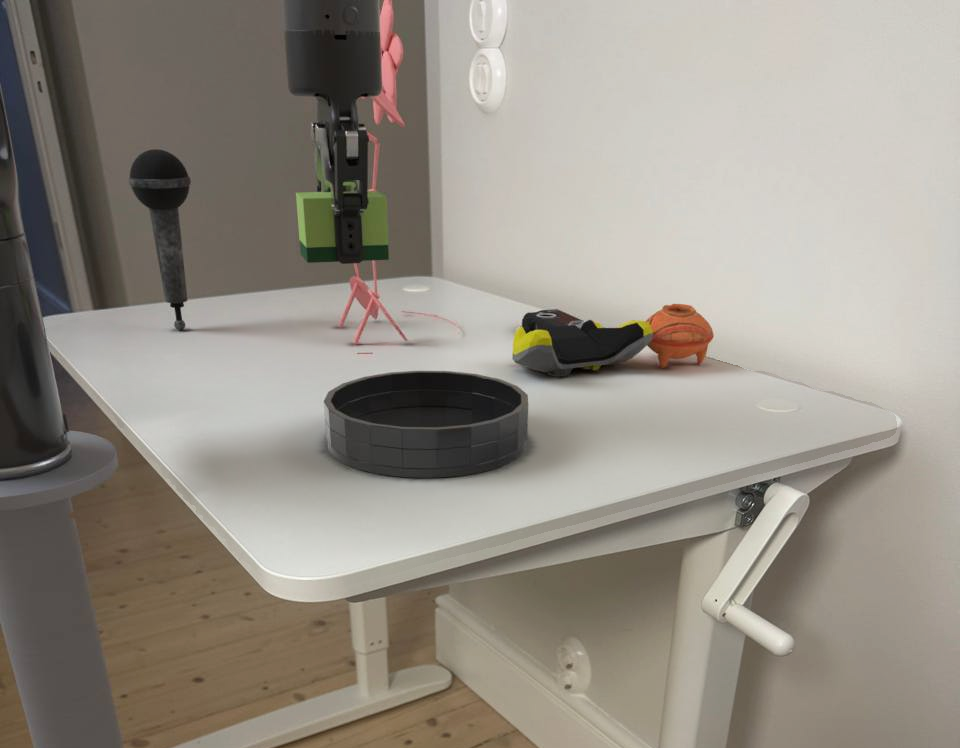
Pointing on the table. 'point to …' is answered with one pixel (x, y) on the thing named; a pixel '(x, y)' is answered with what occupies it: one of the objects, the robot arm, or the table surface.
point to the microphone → (164, 217)
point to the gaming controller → (579, 346)
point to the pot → (679, 333)
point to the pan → (426, 423)
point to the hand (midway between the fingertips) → (344, 256)
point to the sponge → (321, 231)
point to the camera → (549, 319)
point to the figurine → (387, 104)
